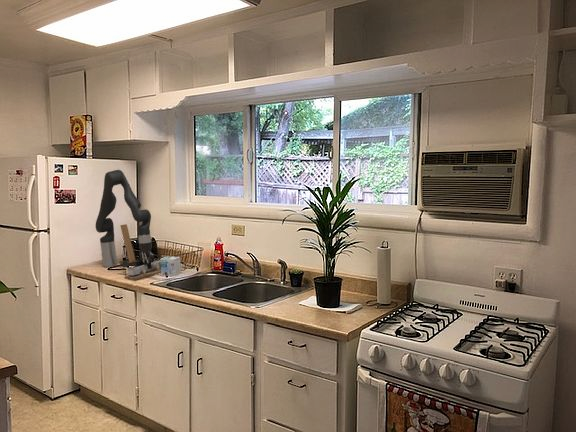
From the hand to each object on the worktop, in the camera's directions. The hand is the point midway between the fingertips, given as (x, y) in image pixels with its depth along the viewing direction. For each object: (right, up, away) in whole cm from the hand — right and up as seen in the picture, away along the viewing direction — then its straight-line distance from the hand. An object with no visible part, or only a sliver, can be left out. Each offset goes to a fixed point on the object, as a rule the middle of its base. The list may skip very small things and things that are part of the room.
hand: (148, 268), depth 302 cm
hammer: (-16, -2, +21) cm, 27 cm away
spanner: (0, -1, 0) cm, 1 cm away
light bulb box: (+16, -4, -3) cm, 16 cm away
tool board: (0, -4, +1) cm, 4 cm away
